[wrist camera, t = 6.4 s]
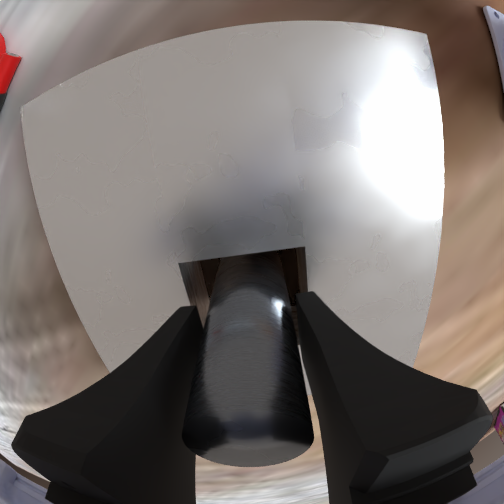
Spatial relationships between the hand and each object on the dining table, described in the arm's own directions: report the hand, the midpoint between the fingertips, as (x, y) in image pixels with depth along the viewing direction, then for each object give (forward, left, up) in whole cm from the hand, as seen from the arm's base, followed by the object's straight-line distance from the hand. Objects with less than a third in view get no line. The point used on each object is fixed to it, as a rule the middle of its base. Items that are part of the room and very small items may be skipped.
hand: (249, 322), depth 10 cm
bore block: (0, -2, -4) cm, 4 cm away
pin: (0, 0, -4) cm, 4 cm away
